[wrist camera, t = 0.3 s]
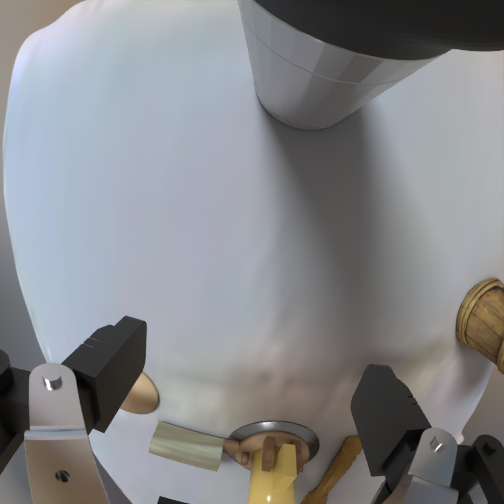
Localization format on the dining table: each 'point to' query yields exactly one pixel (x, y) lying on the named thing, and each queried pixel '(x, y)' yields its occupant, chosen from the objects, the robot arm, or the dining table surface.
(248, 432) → the stand base
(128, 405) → the coaster
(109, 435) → the dining table surface
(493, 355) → the wooden mug
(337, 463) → the tap handle
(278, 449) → the cylinder with side tabs
